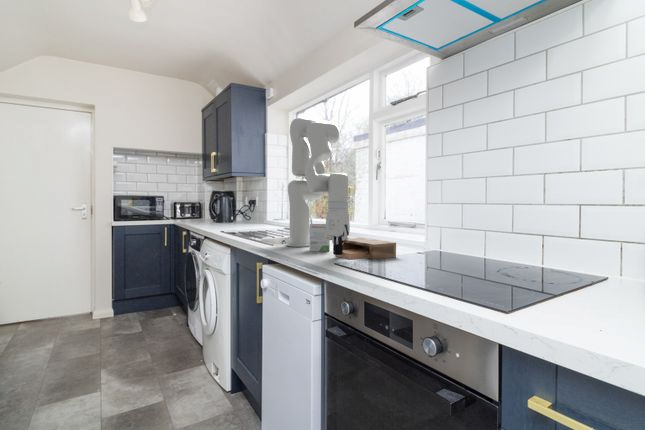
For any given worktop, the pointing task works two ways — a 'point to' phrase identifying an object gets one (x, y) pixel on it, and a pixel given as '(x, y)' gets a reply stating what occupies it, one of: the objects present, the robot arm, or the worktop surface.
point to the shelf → (372, 247)
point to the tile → (354, 253)
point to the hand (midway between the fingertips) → (337, 254)
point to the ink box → (319, 238)
